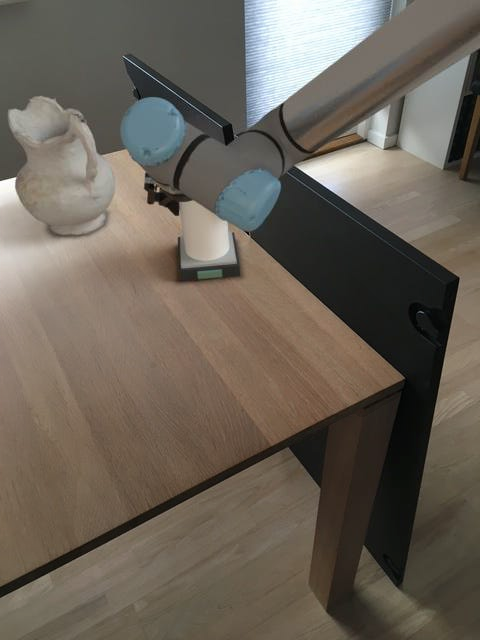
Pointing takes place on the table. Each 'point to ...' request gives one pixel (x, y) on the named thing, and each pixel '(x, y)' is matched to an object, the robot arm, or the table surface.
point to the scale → (208, 263)
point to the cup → (203, 232)
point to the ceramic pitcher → (61, 168)
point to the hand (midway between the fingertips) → (207, 209)
